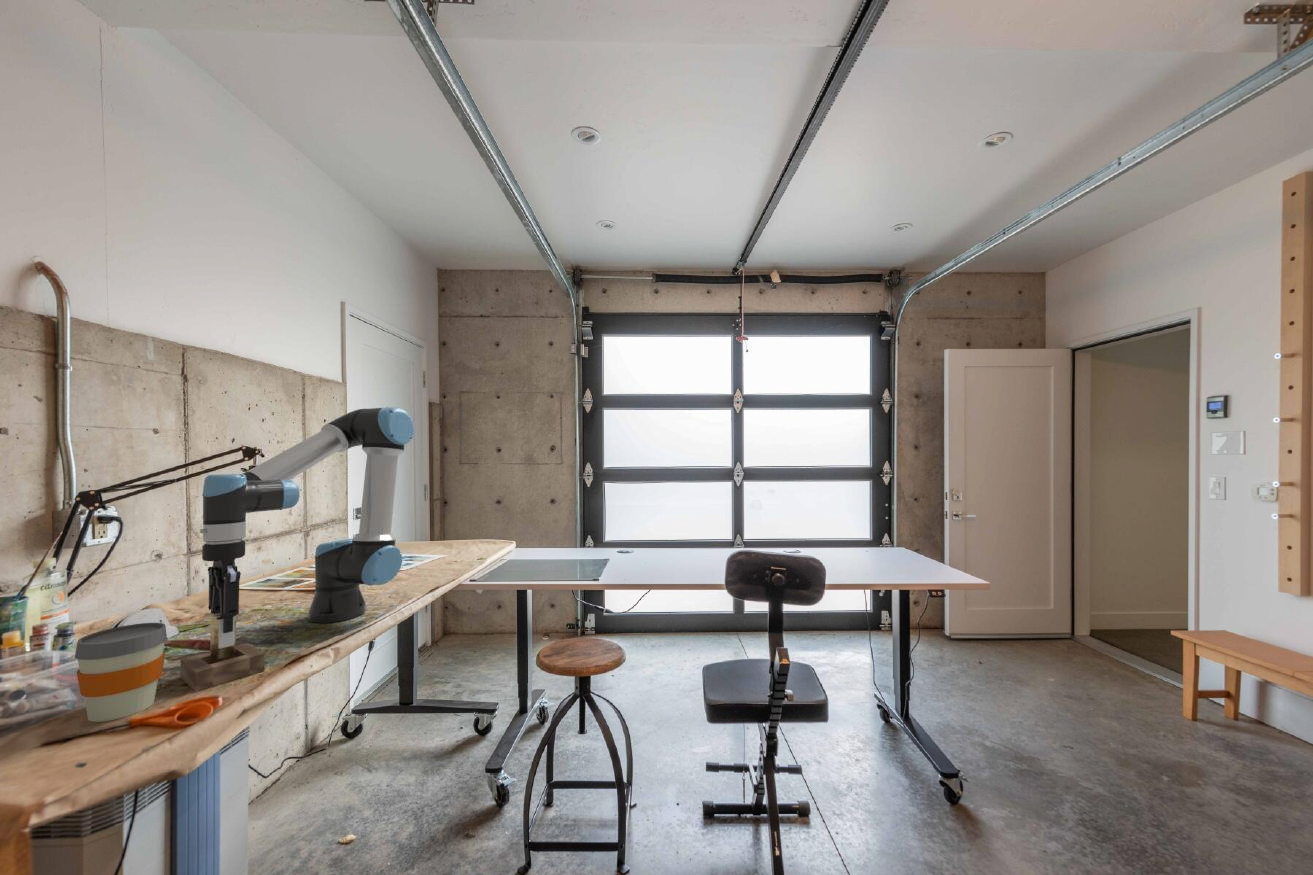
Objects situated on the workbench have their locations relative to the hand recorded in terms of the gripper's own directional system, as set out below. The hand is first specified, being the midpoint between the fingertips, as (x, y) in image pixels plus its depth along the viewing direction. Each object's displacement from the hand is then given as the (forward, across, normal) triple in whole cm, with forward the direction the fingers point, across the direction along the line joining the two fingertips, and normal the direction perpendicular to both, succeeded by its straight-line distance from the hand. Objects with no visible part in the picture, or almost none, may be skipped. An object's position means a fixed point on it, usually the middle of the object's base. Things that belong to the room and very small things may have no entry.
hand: (222, 643), depth 115 cm
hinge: (+7, -42, -6) cm, 43 cm away
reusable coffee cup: (+7, +4, -16) cm, 18 cm away
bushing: (+2, 0, 0) cm, 2 cm away
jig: (+7, 0, 0) cm, 7 cm away
